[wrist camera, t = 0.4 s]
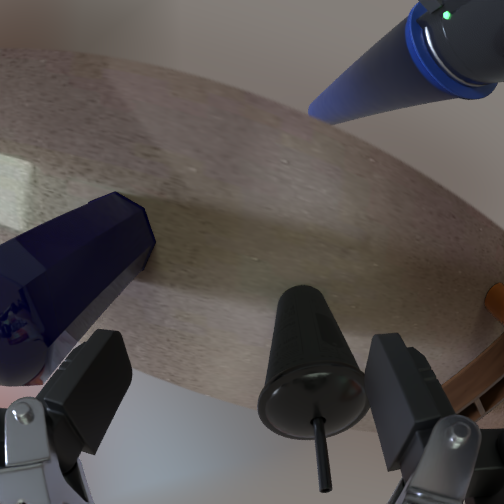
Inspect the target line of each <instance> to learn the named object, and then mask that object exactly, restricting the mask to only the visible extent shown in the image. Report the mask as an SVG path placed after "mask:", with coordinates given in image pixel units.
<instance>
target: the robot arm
mask: <svg viewBox="0 0 504 504" xmlns="http://www.w3.org/2000/svg"><path fill="white" fill-rule="evenodd" d="M419 2H420V3H421V4H422V5H423V6H424V7H425V8H426V9H427V10H428V11H427V12H425V13H424V14H423V15H421V16H420V17H419V18H417V19H416V22H417V23H418V24H419V26H420V27H421V28H422V32H423V37H424V41H425V44H426V47H427V49H428V51H429V53H430V55H431V57H432V58H433V60H434V61H435V63H436V64H437V65H438V67H439V68H440V69H441V70H442V71H443V72H444V73H445V74H446V75H447V76H448V77H449V78H451V79H452V80H454V81H455V82H457V83H459V84H461V85H464V86H467V87H479V86H484V85H488V84H492V83H498V82H504V0H419ZM131 380H132V367H131V363H130V360H129V357H128V354H127V351H126V348H125V344H124V341H123V338H122V335H121V333H120V332H119V331H113V330H103V329H97V330H96V331H95V332H94V333H93V334H92V336H91V337H90V338H89V339H88V341H87V342H84V343H82V344H81V345H79V346H78V347H76V348H75V349H73V350H72V352H71V353H70V354H69V355H68V357H67V358H66V359H65V361H64V362H63V363H62V364H61V365H60V367H59V370H58V369H57V370H56V372H55V373H54V374H53V376H52V377H51V378H50V379H49V381H48V382H47V383H46V385H45V386H44V387H43V389H42V390H41V391H40V393H39V394H38V395H37V396H36V398H34V397H23V398H20V399H18V400H16V401H14V402H13V403H12V404H11V405H10V406H9V407H8V409H6V408H0V504H95V503H94V501H93V498H92V495H91V492H90V489H89V486H88V483H87V480H86V476H85V473H84V470H83V466H82V463H81V460H80V459H79V455H80V453H81V451H83V452H86V453H89V454H93V455H95V454H96V451H97V449H98V447H99V445H100V443H101V441H102V439H103V437H104V435H105V433H106V431H107V429H108V427H109V425H110V423H111V421H112V419H113V417H114V415H115V413H116V411H117V409H118V407H119V405H120V403H121V401H122V399H123V397H124V395H125V393H126V392H127V390H128V388H129V386H130V384H131ZM364 385H365V391H366V394H367V397H368V401H369V404H370V408H371V411H372V414H373V418H374V421H375V425H376V429H377V432H378V436H379V439H380V443H381V447H382V451H383V454H384V458H385V462H386V466H387V470H388V472H389V471H394V470H398V469H401V473H402V478H401V480H400V482H399V483H398V485H397V487H396V489H395V491H394V493H393V495H392V496H391V498H390V500H389V501H388V503H387V504H463V501H464V500H465V504H504V429H479V427H478V425H477V424H476V423H475V422H474V421H473V420H471V419H470V418H468V417H466V416H462V415H457V414H456V413H455V411H454V409H453V407H452V405H451V403H450V401H449V399H448V397H447V395H446V394H445V392H444V390H443V388H442V386H441V384H440V383H439V381H438V379H436V375H435V374H434V372H433V370H431V366H430V365H429V363H428V361H427V360H426V358H425V356H424V355H422V354H421V353H420V352H419V351H417V350H416V349H415V348H414V347H408V348H407V347H406V345H405V344H404V342H403V340H402V338H401V336H400V335H399V334H398V333H388V334H375V335H374V336H373V338H372V342H371V347H370V351H369V356H368V361H367V365H366V369H365V375H364Z"/></svg>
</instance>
